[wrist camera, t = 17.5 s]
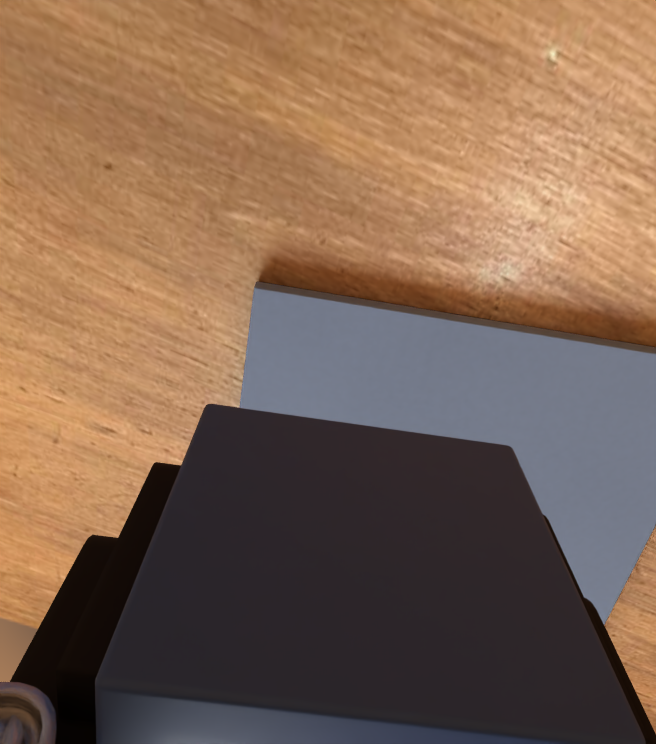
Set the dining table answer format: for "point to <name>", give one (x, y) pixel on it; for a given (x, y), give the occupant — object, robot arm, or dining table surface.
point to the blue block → (353, 599)
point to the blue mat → (480, 405)
